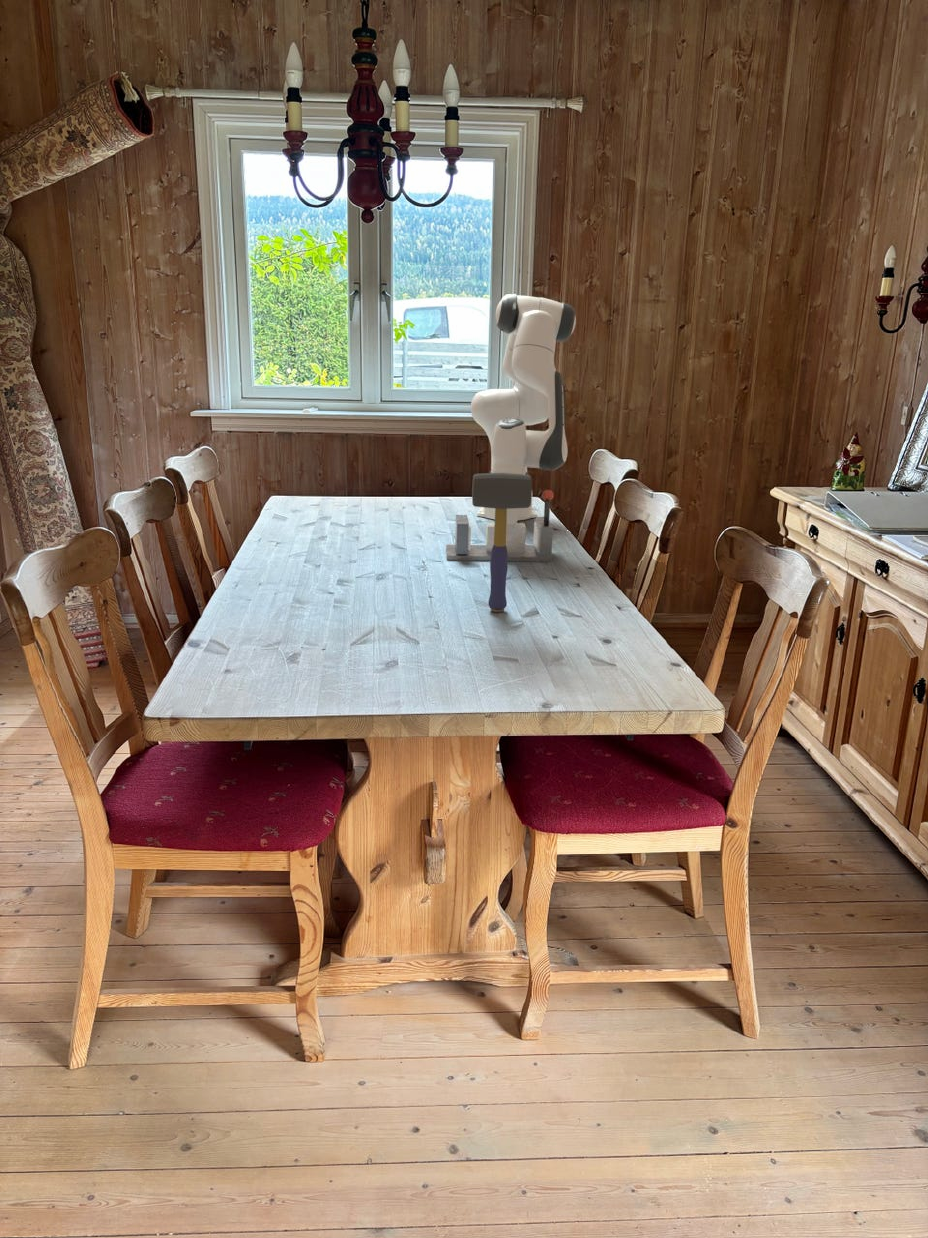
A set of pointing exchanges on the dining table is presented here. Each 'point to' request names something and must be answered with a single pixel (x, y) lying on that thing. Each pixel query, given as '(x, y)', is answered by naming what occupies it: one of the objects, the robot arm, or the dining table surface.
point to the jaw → (462, 534)
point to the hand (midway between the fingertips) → (505, 535)
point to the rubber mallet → (500, 521)
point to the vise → (532, 553)
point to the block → (514, 544)
